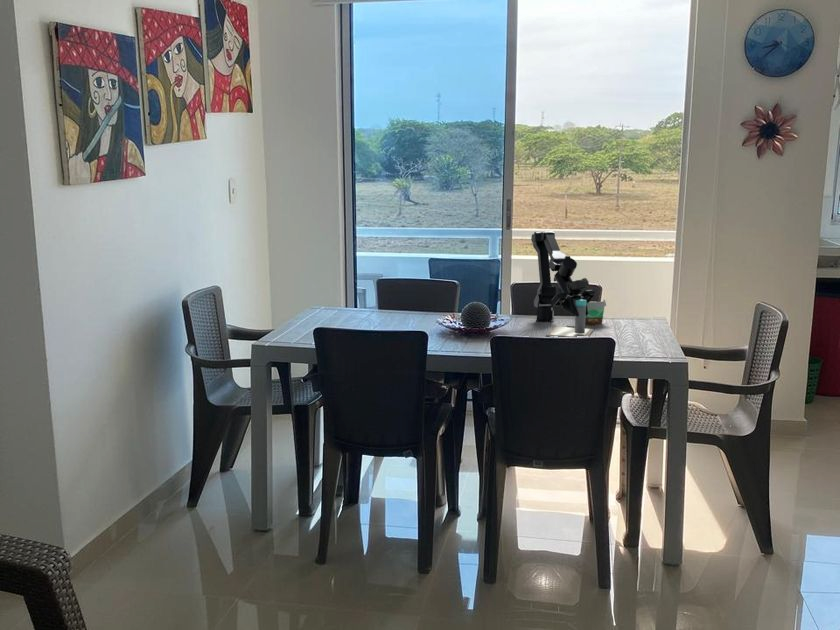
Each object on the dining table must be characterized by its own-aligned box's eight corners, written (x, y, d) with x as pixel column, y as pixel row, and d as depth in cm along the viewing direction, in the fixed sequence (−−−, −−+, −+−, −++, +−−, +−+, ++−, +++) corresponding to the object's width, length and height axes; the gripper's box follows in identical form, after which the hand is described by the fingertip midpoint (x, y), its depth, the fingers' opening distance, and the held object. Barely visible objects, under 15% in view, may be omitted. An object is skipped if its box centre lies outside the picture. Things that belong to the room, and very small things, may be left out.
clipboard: (545, 336, 323) (545, 333, 323) (555, 327, 340) (555, 324, 340) (586, 340, 317) (586, 336, 317) (593, 330, 335) (593, 327, 335)
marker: (573, 333, 322) (574, 300, 319) (575, 330, 326) (576, 299, 323) (584, 334, 320) (585, 301, 318) (585, 331, 324) (587, 299, 321)
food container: (582, 326, 343) (583, 303, 341) (577, 323, 349) (578, 300, 347) (610, 325, 345) (611, 302, 343) (604, 322, 351) (605, 299, 349)
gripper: (557, 273, 317) (574, 305, 310) (593, 269, 326) (611, 301, 319) (543, 290, 325) (560, 322, 318) (580, 286, 334) (596, 317, 327)
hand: (582, 315), depth 320 cm, fingers open, 4 cm apart
